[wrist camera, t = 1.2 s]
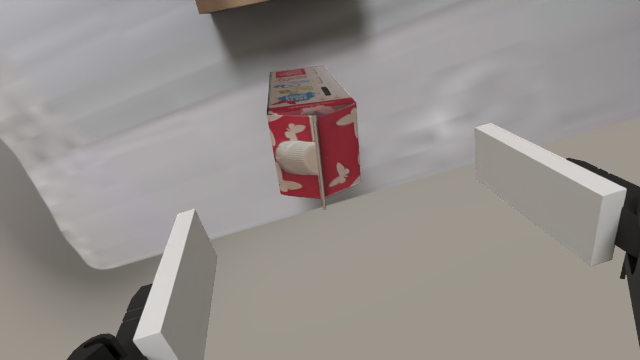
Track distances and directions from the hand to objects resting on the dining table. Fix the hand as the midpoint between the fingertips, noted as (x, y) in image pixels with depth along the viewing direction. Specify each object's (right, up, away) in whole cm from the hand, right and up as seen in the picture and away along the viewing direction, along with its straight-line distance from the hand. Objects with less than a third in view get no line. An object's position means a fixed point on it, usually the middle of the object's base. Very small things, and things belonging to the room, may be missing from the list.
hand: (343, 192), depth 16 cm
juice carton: (-3, +11, +28) cm, 30 cm away
